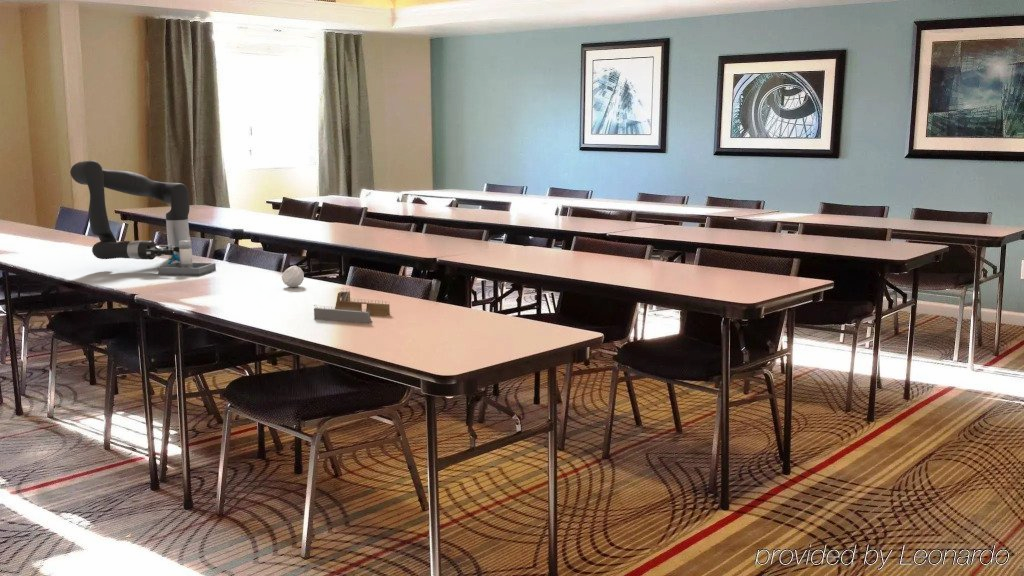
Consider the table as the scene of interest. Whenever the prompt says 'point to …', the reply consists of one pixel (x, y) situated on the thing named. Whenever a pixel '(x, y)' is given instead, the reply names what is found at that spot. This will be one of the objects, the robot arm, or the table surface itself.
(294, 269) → the white ball
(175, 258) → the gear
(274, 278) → the table surface
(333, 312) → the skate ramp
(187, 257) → the fuse
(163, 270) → the parts tray
